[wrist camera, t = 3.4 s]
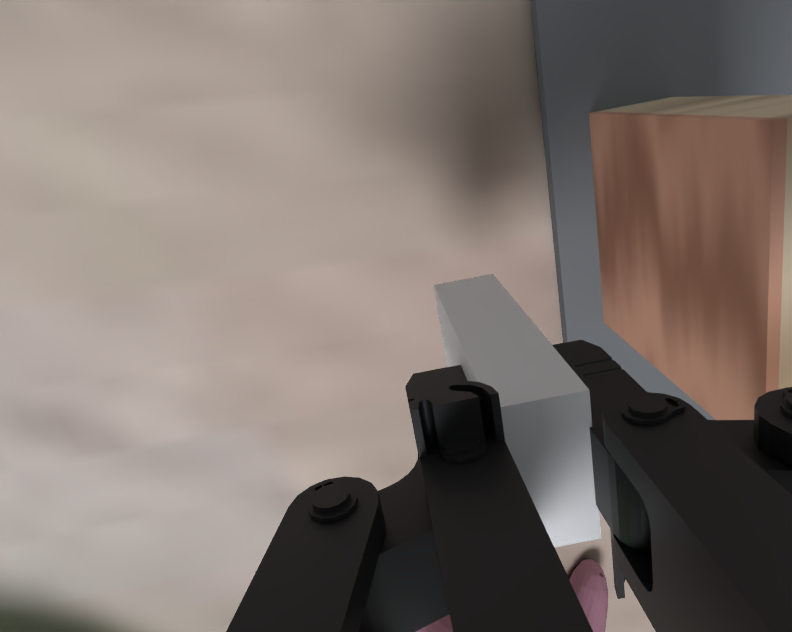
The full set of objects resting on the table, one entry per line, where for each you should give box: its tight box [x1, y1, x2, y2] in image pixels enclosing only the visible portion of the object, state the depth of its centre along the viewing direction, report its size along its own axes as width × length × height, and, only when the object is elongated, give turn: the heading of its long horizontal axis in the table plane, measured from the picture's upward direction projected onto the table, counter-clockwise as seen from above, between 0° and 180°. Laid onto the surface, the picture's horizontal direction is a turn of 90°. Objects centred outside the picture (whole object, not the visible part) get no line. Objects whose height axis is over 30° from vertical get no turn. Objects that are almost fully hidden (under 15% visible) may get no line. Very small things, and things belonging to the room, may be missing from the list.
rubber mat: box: [531, 0, 792, 420], centre depth 23 cm, size 20×17×1 cm
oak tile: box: [589, 95, 792, 420], centre depth 18 cm, size 8×3×10 cm, turn 10°
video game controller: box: [416, 559, 608, 632], centre depth 27 cm, size 10×5×7 cm, turn 72°
